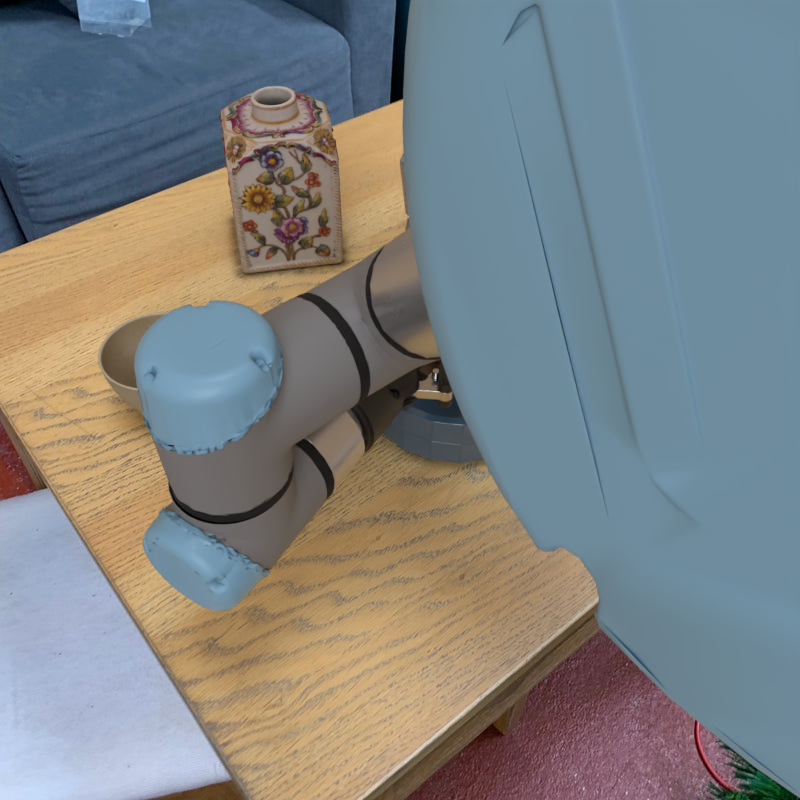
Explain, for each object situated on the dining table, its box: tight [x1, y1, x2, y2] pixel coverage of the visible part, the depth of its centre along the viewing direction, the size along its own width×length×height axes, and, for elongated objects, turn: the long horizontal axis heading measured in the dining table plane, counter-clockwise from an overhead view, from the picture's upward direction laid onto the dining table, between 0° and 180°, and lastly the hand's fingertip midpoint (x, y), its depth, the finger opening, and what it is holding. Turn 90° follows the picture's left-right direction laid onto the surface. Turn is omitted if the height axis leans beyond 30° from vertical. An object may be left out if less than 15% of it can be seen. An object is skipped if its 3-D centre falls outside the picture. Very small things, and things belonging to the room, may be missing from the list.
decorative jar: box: [218, 85, 344, 274], centre depth 84 cm, size 12×12×18 cm
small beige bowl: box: [97, 311, 169, 415], centre depth 70 cm, size 10×10×7 cm
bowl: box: [382, 393, 484, 464], centre depth 72 cm, size 17×17×6 cm
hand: (476, 256), depth 70 cm, fingers closed on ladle, 2 cm apart
